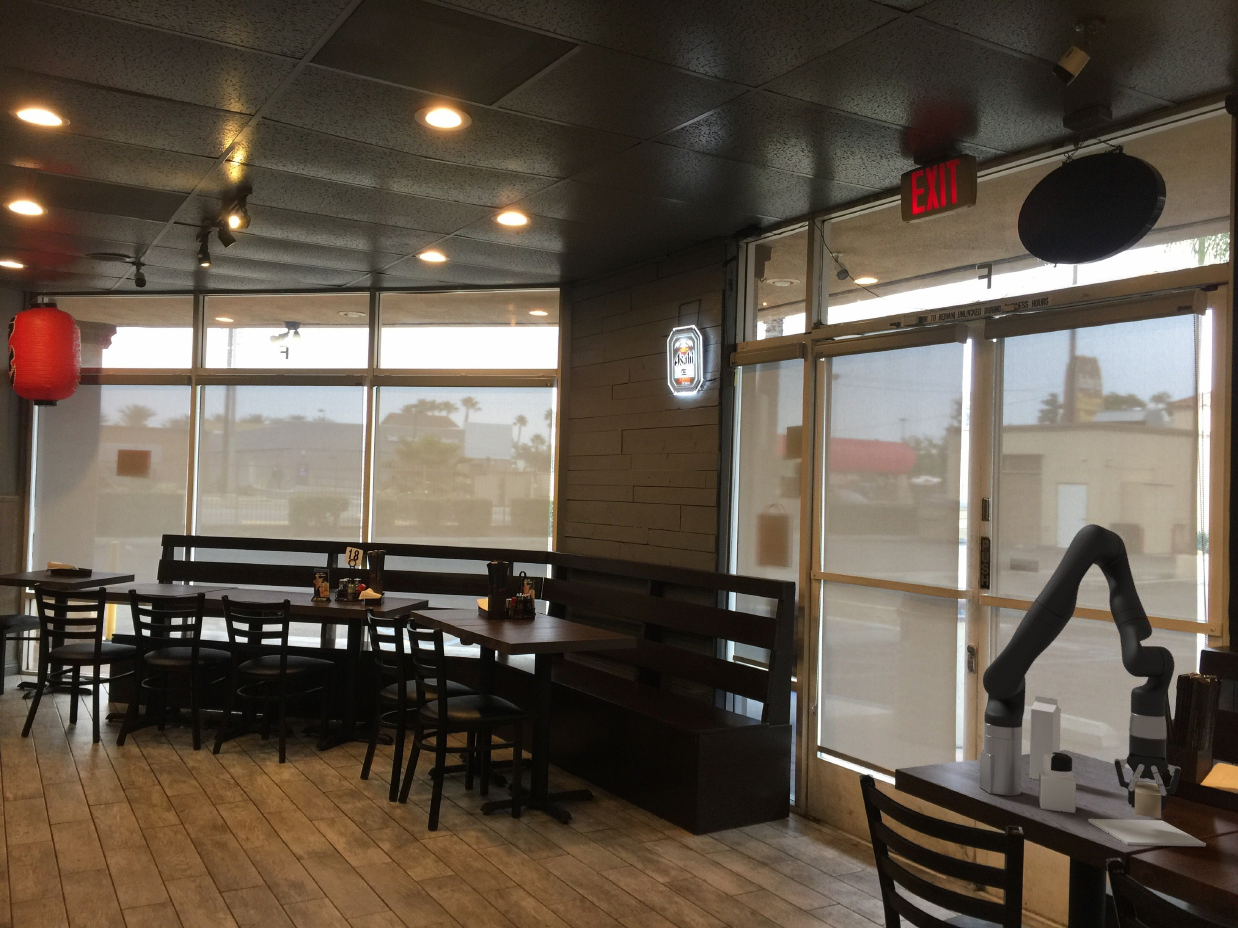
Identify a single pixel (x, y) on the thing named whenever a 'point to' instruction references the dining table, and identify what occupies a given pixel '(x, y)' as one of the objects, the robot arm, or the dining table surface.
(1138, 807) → the block
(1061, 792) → the container
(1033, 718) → the milk
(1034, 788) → the dining table surface
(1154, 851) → the dining table surface
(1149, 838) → the mat
